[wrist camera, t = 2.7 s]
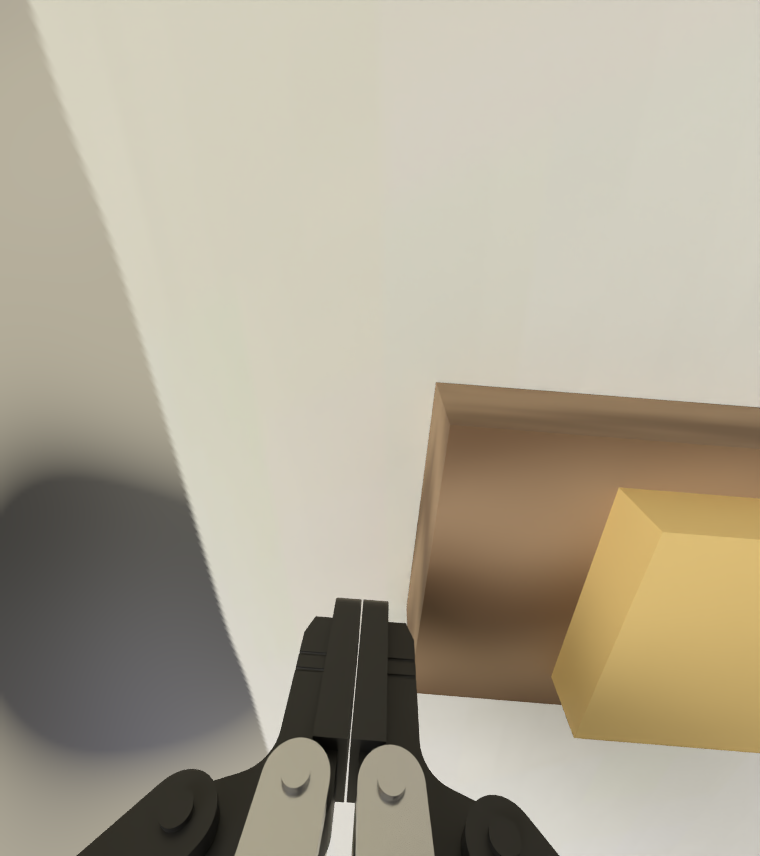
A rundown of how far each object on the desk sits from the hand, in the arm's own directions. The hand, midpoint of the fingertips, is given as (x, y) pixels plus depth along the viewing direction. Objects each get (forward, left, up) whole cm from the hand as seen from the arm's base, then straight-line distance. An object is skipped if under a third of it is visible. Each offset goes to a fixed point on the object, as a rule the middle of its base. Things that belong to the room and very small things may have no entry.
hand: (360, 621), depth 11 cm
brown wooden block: (0, +10, -6) cm, 11 cm away
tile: (0, +10, -2) cm, 10 cm away
